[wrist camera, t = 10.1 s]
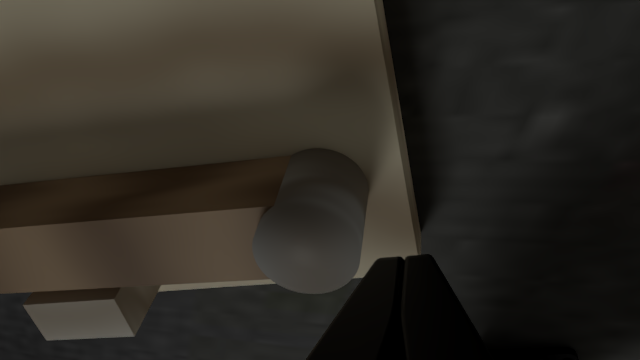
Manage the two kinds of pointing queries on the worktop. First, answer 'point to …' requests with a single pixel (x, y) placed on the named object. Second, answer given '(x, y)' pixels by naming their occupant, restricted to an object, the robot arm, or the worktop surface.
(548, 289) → the worktop surface
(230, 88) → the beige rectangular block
